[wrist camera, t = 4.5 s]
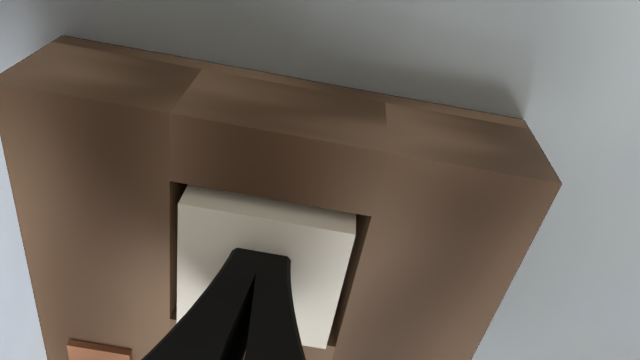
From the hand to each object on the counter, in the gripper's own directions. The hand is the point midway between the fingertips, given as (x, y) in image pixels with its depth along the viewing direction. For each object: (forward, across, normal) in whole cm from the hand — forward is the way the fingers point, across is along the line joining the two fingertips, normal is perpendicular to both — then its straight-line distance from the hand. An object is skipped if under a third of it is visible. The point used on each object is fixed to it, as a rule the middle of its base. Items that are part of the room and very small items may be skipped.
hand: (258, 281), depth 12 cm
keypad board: (+3, 0, +6) cm, 7 cm away
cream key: (+2, 0, 0) cm, 2 cm away
